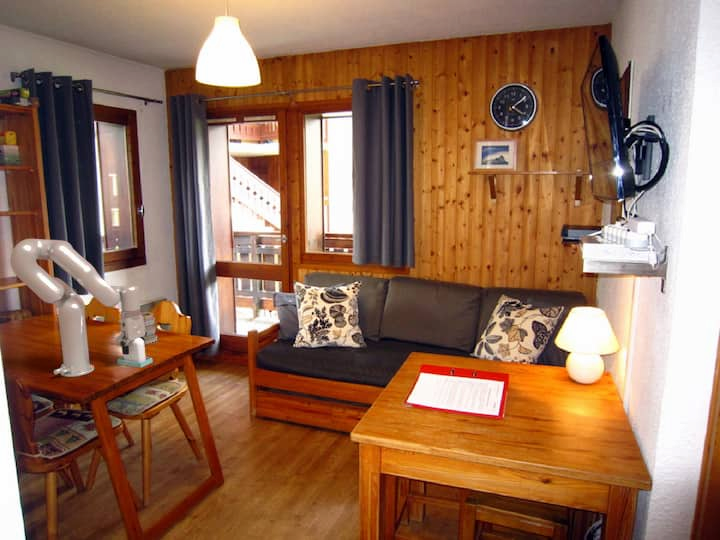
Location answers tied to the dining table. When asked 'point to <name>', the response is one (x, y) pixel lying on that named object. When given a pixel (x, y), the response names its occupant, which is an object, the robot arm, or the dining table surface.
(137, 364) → the slot frame
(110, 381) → the dining table surface
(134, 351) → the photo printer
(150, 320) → the tankard
